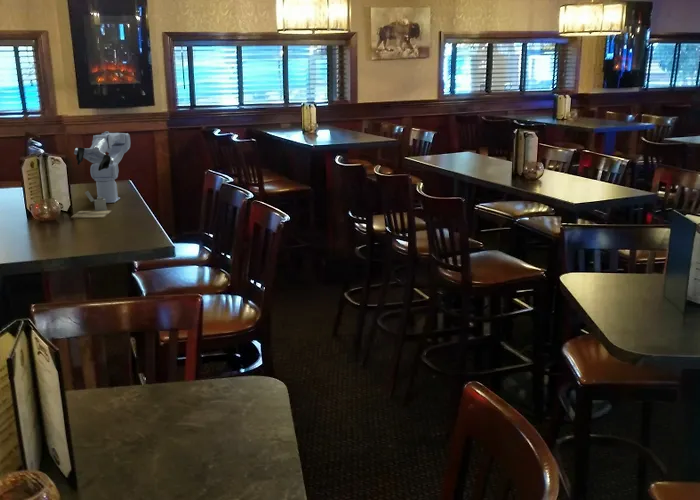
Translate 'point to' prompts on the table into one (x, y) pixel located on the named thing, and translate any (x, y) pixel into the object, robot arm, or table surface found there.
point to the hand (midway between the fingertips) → (89, 165)
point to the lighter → (97, 202)
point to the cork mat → (91, 214)
